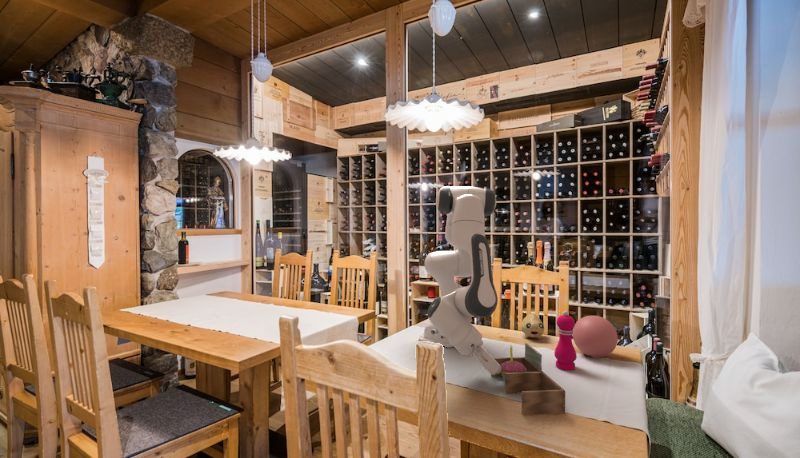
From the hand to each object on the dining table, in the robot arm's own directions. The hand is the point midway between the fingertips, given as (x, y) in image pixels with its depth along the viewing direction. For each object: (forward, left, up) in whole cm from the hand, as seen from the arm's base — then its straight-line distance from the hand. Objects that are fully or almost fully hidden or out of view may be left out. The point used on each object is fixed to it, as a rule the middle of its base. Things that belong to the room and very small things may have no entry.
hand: (498, 370), depth 124 cm
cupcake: (+4, +3, -5) cm, 7 cm away
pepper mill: (+16, +26, -5) cm, 31 cm away
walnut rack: (+8, -2, -4) cm, 10 cm away
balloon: (+23, +46, -5) cm, 52 cm away
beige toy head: (-1, +56, -5) cm, 56 cm away
